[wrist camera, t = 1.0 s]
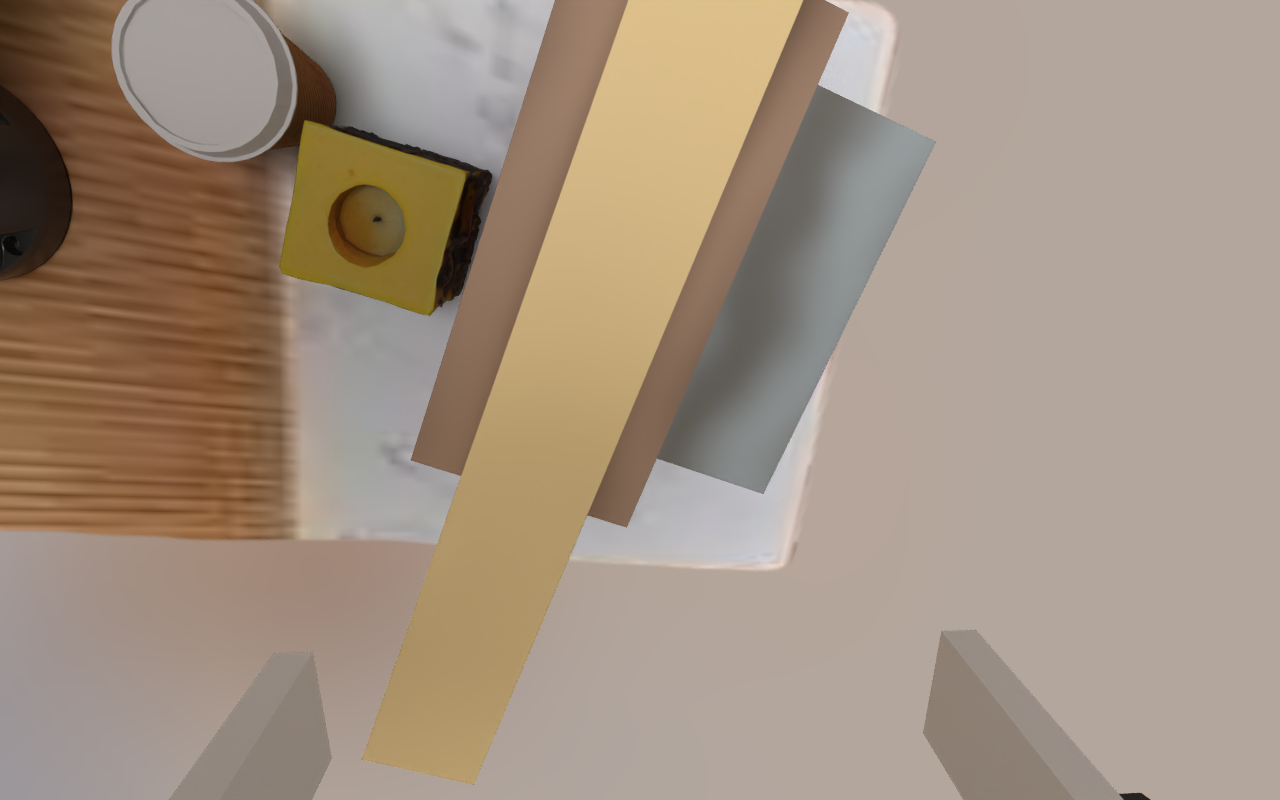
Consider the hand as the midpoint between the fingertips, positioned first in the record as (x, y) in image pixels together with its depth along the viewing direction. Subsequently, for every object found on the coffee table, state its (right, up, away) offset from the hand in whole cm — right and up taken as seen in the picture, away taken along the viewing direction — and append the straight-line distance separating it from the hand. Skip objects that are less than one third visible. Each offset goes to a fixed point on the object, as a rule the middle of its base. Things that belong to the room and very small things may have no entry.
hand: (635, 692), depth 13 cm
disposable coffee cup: (-25, +28, +33) cm, 50 cm away
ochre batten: (-3, +6, +8) cm, 11 cm away
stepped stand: (0, +20, +38) cm, 43 cm away
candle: (-18, +21, +36) cm, 45 cm away
